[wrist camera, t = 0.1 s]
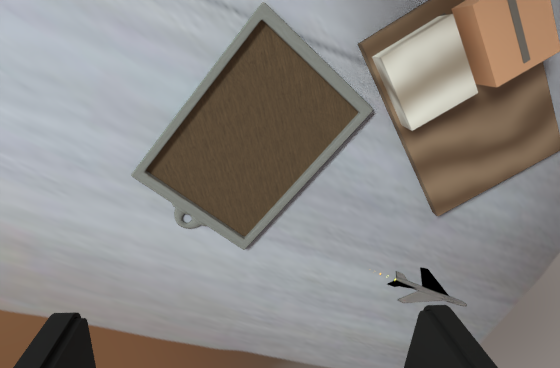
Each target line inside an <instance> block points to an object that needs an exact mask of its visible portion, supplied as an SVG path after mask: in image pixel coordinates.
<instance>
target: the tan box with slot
mask: <svg viewBox="0 0 560 368" xmlns="http://www.w3.org/2000/svg"><path fill="white" fill-rule="evenodd" d="M452 12H453V15H454V19H455V22H456V25H457V28H458V31H459V34H460V37H461V40H462V43H463V47H464V50H465V53H466V56H467V59H468V62H469V65H470V68H471V71H472V74H473V78H474V81H475V84H478V85H485V86H491V87H499V86H500V85H502V84H504V83H506V82H507V81H509V80H511V79H513V78H514V77H516V76H518V75H520V74H521V73H523V72H525V71H527V70H528V69H530V68H532V67H534V66H535V65H537V64H539V63H541V62H542V61H544V60H546V59H548V58H549V57H551V56H553V55H554V54H556V53H558V52H560V44H559V39H558V34H557V29H556V25H555V20H554V15H553V10H552V5H551V1H550V0H465V1H464V2H462V3H460V4H459V5H457V6H455V7H454V8H452Z"/></svg>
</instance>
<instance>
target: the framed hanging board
mask: <svg viewBox="0 0 560 368" xmlns="http://www.w3.org/2000/svg"><path fill="white" fill-rule="evenodd" d="M372 111H373V108H372V107H371V106H370V105H369V104H368V103H367V102H366V101H365V100H364V99H363V98H362V97H361V96H360V95H359V94H358V93H356V92H355V91H354V90H353V89H352V88H351V87H350V86H349V85H348V84H347V83H346V82H345V81H344V80H343V79H342V78H341V77H340V76H339V75H338V74H337V73H336V72H335V71H334V70H333V69H332V68H331V67H330V66H329V65H328V64H327V63H326V62H325V61H324V60H323V59H322V58H321V57H320V56H319V55H318V54H317V53H316V52H315V51H314V50H313V49H312V48H311V47H310V46H309V45H308V44H307V43H306V42H304V41H303V40H302V39H301V38H300V37H299V36H298V35H297V34H296V33H295V32H294V31H293V30H292V29H291V28H290V27H289V26H288V25H287V24H286V23H285V22H284V21H283V20H282V19H281V18H280V17H279V16H278V15H277V14H276V13H275V12H274V11H273V10H272V9H271V8H270V7H269V6H268V5H267V4H266V3H264V2H262V3H261V5H260V6H259V7H258V8H257V10H256V11H255V12H254V14H253V15H252V16H251V18H250V19H249V20H248V21H247V23H246V24H245V25H244V27H243V28H242V29H241V31H240V32H239V33H238V35H237V36H236V37H235V39H234V40H233V41H232V43H231V44H230V45H229V46H228V48H227V49H226V50H225V52H224V53H223V54H222V56H221V57H220V58H219V60H218V61H217V62H216V64H215V65H214V66H213V68H212V69H211V70H210V72H209V73H208V74H207V75H206V77H205V78H204V79H203V81H202V82H201V83H200V85H199V86H198V87H197V89H196V90H195V91H194V93H193V94H192V95H191V97H190V98H189V99H188V100H187V102H186V103H185V104H184V106H183V107H182V108H181V110H180V111H179V112H178V114H177V115H176V116H175V118H174V119H173V120H172V122H171V123H170V124H169V125H168V127H167V128H166V129H165V131H164V132H163V133H162V135H161V136H160V137H159V139H158V140H157V141H156V143H155V144H154V145H153V147H152V148H151V149H150V150H149V152H148V153H147V154H146V156H145V157H144V158H143V160H142V161H141V162H140V164H139V165H138V166H137V168H136V169H135V170H134V172H133V173H132V175H131V176H132V177H133V178H135V179H136V180H138V181H139V182H141V183H142V184H144V185H146V186H147V187H149V188H150V189H152V190H153V191H155V192H156V193H158V194H159V195H161V196H162V197H164V198H165V199H167V200H168V201H170V202H171V203H172V205H173V206H174V207H175V212H174V216H175V220H176V222H177V223H178V224H179V225H180V226H181V227H183V228H188V229H191V228H196V227H198V226H200V225H203V226H208V227H209V228H211V229H213V230H214V231H216V232H217V233H219V234H220V235H222V236H223V237H225V238H226V239H228V240H229V241H231V242H232V243H234V244H235V245H237V246H238V247H240V248H242V249H243V250H244V249H246V248H247V246H248V245H249V244H250V243H251V242H252V241H253V240H254V239H255V238H256V237H257V236H258V235H259V234H260V232H261V231H262V230H263V229H264V228H265V227H266V226H267V225H268V224H269V223H270V222H271V221H272V219H273V218H274V217H275V216H276V215H277V214H278V213H279V212H280V211H281V210H282V209H283V208H284V206H285V205H286V204H287V203H288V202H289V201H290V200H291V199H292V198H293V197H294V196H295V195H296V194H297V192H298V191H299V190H300V189H301V188H302V187H303V186H304V185H305V184H306V183H307V182H308V181H309V179H310V178H311V177H312V176H313V175H314V174H315V173H316V172H317V171H318V170H319V169H320V168H321V166H322V165H323V164H324V163H325V162H326V161H327V160H328V159H329V158H330V157H331V156H332V155H333V153H334V152H335V151H336V150H337V149H338V148H339V147H340V146H341V145H342V144H343V143H344V142H345V140H346V139H347V138H348V137H349V136H350V135H351V134H352V133H353V132H354V131H355V130H356V129H357V128H358V126H359V125H360V124H361V123H362V122H363V121H364V120H365V119H366V118H367V117H368V116H369V114H370V113H371V112H372ZM184 214H190V215H191V217H192V220H191V221H190V222H189V223H186V222H184V221H183V220H182V217H183V215H184Z"/></svg>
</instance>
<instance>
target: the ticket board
mask: <svg viewBox="0 0 560 368" xmlns="http://www.w3.org/2000/svg"><path fill="white" fill-rule="evenodd" d="M464 1H465V0H428V1H426V2H425V3H423V4H422V5H420V6H418V7H417V8H415V9H413V10H412V11H410V12H409V13H407V14H405V15H404V16H402V17H401V18H399V19H397V20H396V21H394V22H392V23H391V24H389V25H388V26H386V27H384V28H383V29H381V30H379V31H378V32H376V33H375V34H373V35H371V36H370V37H368V38H367V39H365V40H363V41H362V42H360V43H358V46H359V48H360V50H361V53H362V55H363V57H364V59H365V62H366V64H367V66H368V68H369V71H370V73H371V75H372V77H373V80H374V82H375V84H376V86H377V88H378V91H379V93H380V95H381V97H382V100H383V102H384V104H385V106H386V109H387V111H388V113H389V115H390V118H391V120H392V122H393V124H394V127H395V129H396V131H397V133H398V136H399V138H400V140H401V142H402V145H403V147H404V149H405V151H406V153H407V156H408V158H409V160H410V162H411V165H412V167H413V169H414V171H415V174H416V176H417V178H418V180H419V183H420V185H421V187H422V189H423V192H424V194H425V196H426V198H427V201H428V203H429V205H430V207H431V209H432V212H433V213H434V214H435V215H437V216H440V215H441V214H443V213H445V212H447V211H449V210H451V209H452V208H454V207H456V206H458V205H460V204H462V203H464V202H465V201H467V200H469V199H471V198H473V197H475V196H477V195H478V194H480V193H482V192H484V191H486V190H488V189H490V188H491V187H493V186H495V185H497V184H499V183H501V182H502V181H504V180H506V179H508V178H510V177H512V176H514V175H515V174H517V173H519V172H521V171H523V170H525V169H527V168H528V167H530V166H532V165H534V164H536V163H538V162H539V161H541V160H543V159H545V158H547V157H549V156H551V155H552V154H554V153H556V152H558V151H560V134H559V130H558V125H557V121H556V117H555V113H554V108H553V104H552V100H551V95H550V91H549V87H548V82H547V78H546V74H545V70H544V65H543V61H542V62H541V63H539V64H537V65H535V66H534V67H532V68H530V69H528V70H527V71H525V72H523V73H521V74H520V75H518V76H516V77H514V78H513V79H511V80H509V81H507V82H506V83H504V84H502V85H500V86H499V87H491V86H485V85H478V84H475V81H474V78H473V74H472V71H471V68H470V65H469V62H468V59H467V56H466V53H465V50H464V47H463V43H462V40H461V37H460V34H459V31H458V28H457V25H456V22H455V19H454V15H453V12H452V8H454V7H455V6H457V5H459V4H460V3H462V2H464Z"/></svg>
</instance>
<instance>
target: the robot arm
mask: <svg viewBox="0 0 560 368" xmlns="http://www.w3.org/2000/svg"><path fill="white" fill-rule="evenodd" d="M13 368H96V365H95V360H94V355H93V350H92V344H91V338H90V333H89V328H88V322H87V320H86V318H81V316H80V314H79V313H54V314H52V315H51V316H50V317H49V318H48V320H47V321H46V323H45V324H44V325H43V327H42V328H41V330H40V331H39V332H38V334H37V335H36V337H35V338H34V339H33V341H32V342H31V344H30V345H29V346H28V348H27V349H26V351H25V352H24V353H23V355H22V356H21V358H20V359H19V361H18V362H17V363H16V365H15V366H14V367H13ZM404 368H498V367H497V366H496V365H495V364H494V362H493V361H492V360H491V359H490V357H489V356H488V355H487V354H486V352H485V351H484V350H483V348H482V347H481V346H480V345H479V343H478V342H477V341H476V340H475V338H474V337H473V336H472V335H471V333H470V332H469V331H468V330H467V328H466V327H465V326H464V325H463V323H462V322H461V321H460V320H459V318H458V317H457V316H456V315H455V313H454V312H453V311H452V310H451V308H450V307H449V306H447V305H428V306H426V307H425V308H424V310H423V311H420V313H419V315H418V319H417V323H416V326H415V330H414V333H413V337H412V340H411V344H410V348H409V351H408V355H407V358H406V362H405V366H404Z"/></svg>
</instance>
